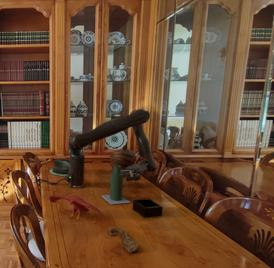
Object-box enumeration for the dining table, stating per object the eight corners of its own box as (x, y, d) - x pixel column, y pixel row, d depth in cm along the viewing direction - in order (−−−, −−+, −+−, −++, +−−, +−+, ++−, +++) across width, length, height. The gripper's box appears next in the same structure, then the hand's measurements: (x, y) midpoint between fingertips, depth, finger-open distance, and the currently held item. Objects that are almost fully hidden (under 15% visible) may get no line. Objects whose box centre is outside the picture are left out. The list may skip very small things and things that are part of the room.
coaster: (111, 204, 120) (111, 204, 119) (101, 196, 130) (101, 195, 130) (130, 202, 121) (131, 202, 121) (119, 194, 132) (119, 193, 132)
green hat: (79, 168, 180) (75, 177, 161) (58, 177, 187) (52, 186, 168) (70, 151, 180) (65, 157, 161) (49, 160, 187) (42, 168, 168)
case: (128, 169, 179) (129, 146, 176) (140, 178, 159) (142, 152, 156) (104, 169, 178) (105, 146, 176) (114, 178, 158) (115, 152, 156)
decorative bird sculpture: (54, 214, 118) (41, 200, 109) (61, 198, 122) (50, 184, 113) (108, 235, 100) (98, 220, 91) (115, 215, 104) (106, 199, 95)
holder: (144, 217, 106) (144, 208, 106) (132, 208, 115) (133, 199, 114) (161, 215, 108) (162, 206, 107) (148, 207, 117) (149, 198, 116)
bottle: (113, 201, 122) (115, 168, 120) (107, 196, 128) (109, 165, 126) (124, 200, 123) (125, 167, 121) (117, 195, 129) (119, 164, 127)
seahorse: (119, 229, 97) (119, 225, 96) (142, 252, 82) (142, 247, 82) (107, 231, 96) (107, 227, 95) (128, 255, 81) (128, 250, 81)
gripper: (123, 162, 141) (108, 168, 131) (147, 167, 130) (132, 174, 120) (122, 174, 142) (107, 180, 132) (146, 180, 132) (131, 188, 121)
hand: (119, 177), depth 126 cm, fingers open, 8 cm apart
